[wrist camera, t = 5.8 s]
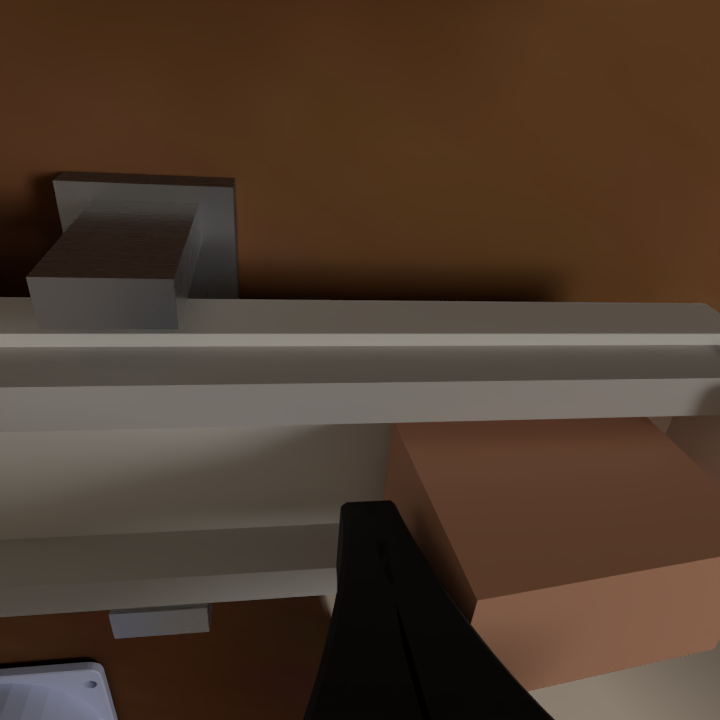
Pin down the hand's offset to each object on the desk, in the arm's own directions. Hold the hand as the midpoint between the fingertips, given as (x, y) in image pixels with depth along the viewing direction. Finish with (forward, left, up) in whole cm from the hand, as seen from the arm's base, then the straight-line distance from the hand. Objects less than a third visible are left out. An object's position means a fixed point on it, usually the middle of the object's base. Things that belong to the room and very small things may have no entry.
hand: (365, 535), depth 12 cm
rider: (0, -4, -2) cm, 4 cm away
